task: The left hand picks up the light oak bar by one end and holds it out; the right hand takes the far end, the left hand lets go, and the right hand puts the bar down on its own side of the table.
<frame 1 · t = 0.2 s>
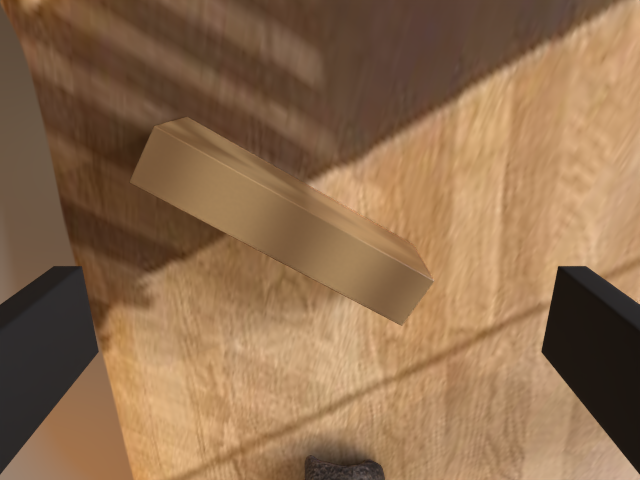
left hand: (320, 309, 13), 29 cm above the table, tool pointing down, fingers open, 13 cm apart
bar: (293, 205, 42), on the table
stone: (339, 475, 52), on the table
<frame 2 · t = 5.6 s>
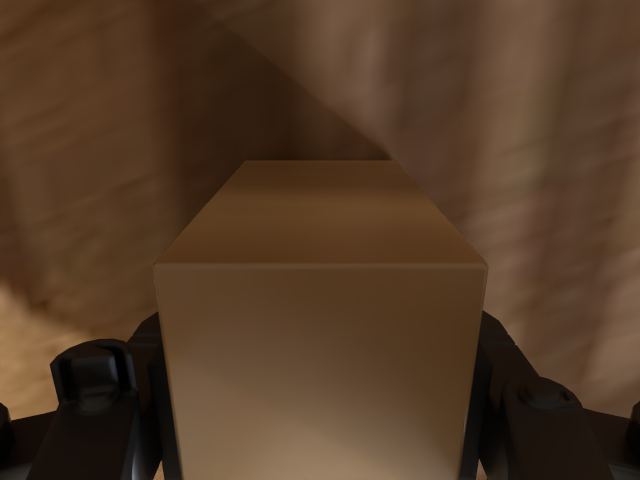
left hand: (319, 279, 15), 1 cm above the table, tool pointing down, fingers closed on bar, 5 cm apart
bar: (320, 458, 18), on the table, touching left hand
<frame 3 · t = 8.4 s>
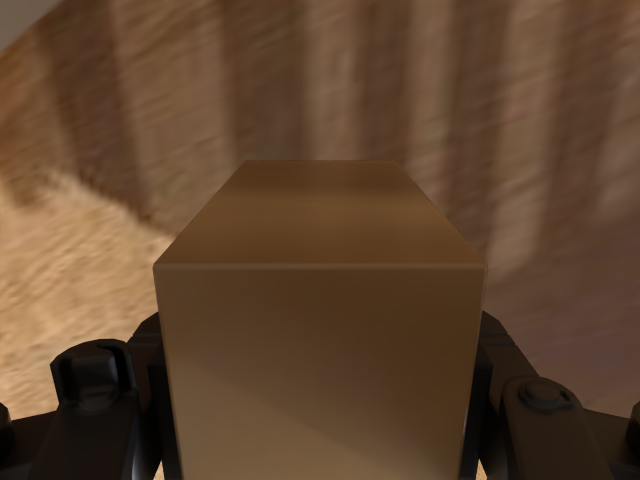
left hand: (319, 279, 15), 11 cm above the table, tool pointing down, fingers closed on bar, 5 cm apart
bar: (320, 458, 18), point 10 cm above the table, touching left hand
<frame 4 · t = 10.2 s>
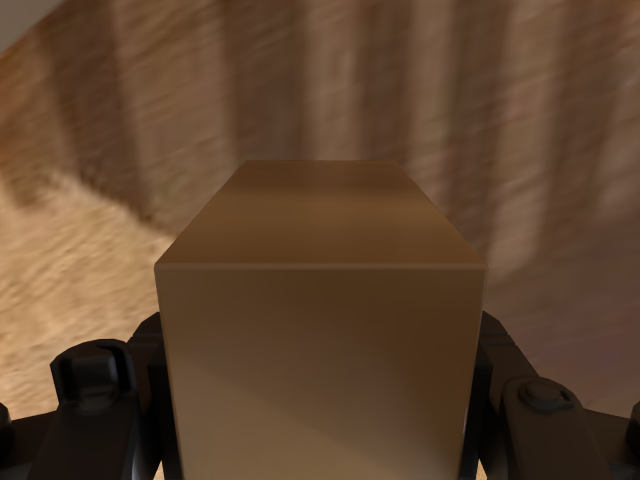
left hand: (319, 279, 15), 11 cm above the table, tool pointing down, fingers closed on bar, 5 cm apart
bar: (319, 458, 18), point 10 cm above the table, touching left hand, right hand
when the left hand's fingers open (11 cm above the table, at t = 11.0 s): bar stays where it is, held by the right hand.
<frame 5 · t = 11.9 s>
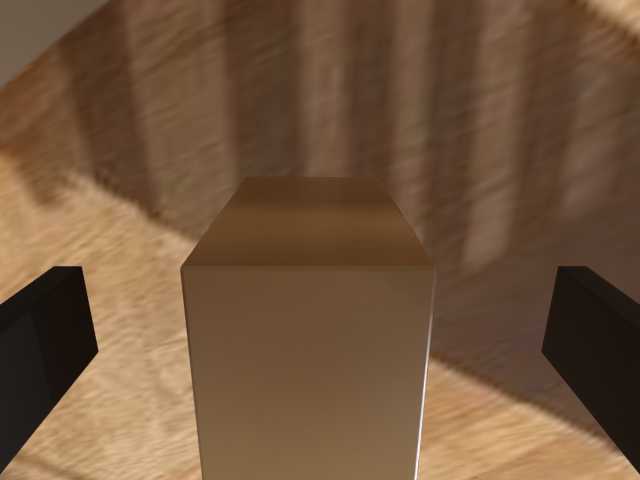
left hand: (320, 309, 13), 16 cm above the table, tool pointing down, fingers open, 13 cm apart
bar: (312, 445, 20), point 11 cm above the table, touching right hand
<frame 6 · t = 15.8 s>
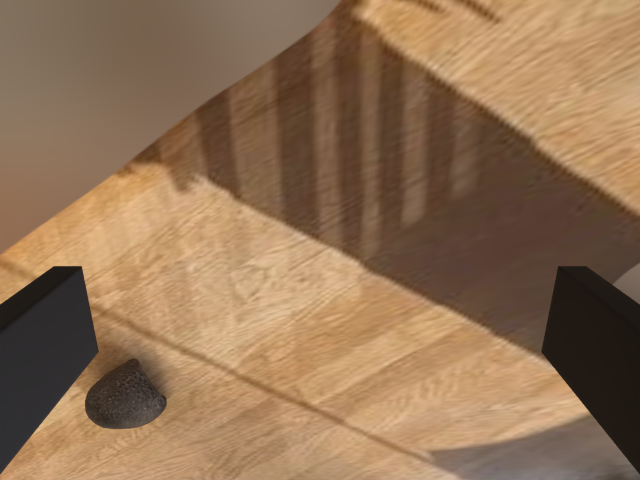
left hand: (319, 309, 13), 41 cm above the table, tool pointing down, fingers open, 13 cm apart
stone: (134, 386, 63), on the table
when the right hand's fingers open (5 cm above the table, at t = 21.8 s): bar stays where it is, on the table.
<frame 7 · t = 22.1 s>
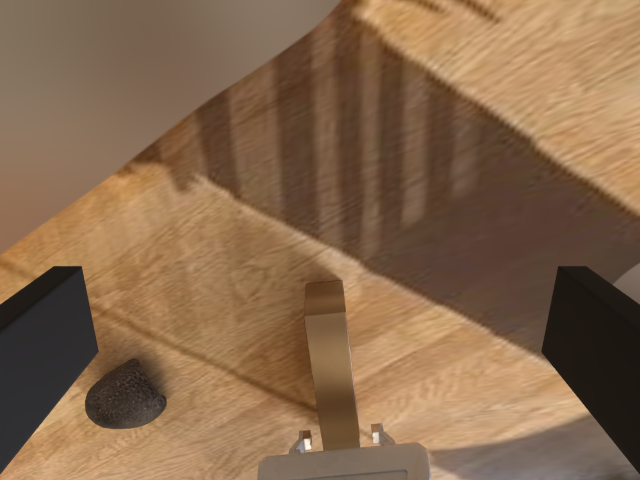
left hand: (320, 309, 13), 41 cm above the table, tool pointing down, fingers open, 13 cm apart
bar: (333, 360, 61), on the table
stone: (134, 386, 63), on the table
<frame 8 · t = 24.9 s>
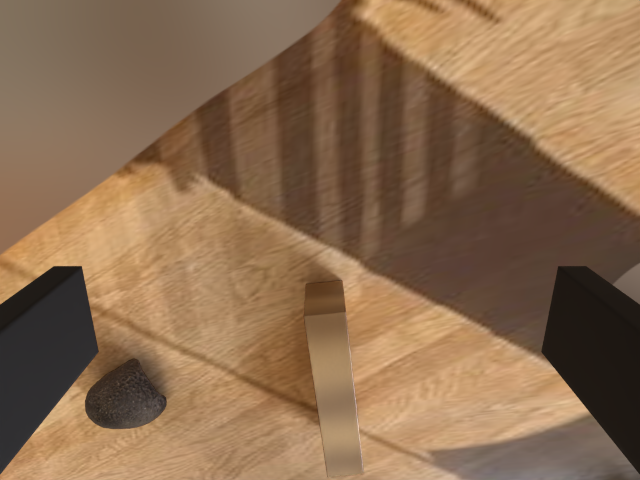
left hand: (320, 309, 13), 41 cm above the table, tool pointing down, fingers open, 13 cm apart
bar: (333, 360, 61), on the table
stone: (134, 386, 63), on the table
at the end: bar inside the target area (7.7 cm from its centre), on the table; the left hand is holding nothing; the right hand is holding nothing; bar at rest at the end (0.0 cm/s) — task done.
